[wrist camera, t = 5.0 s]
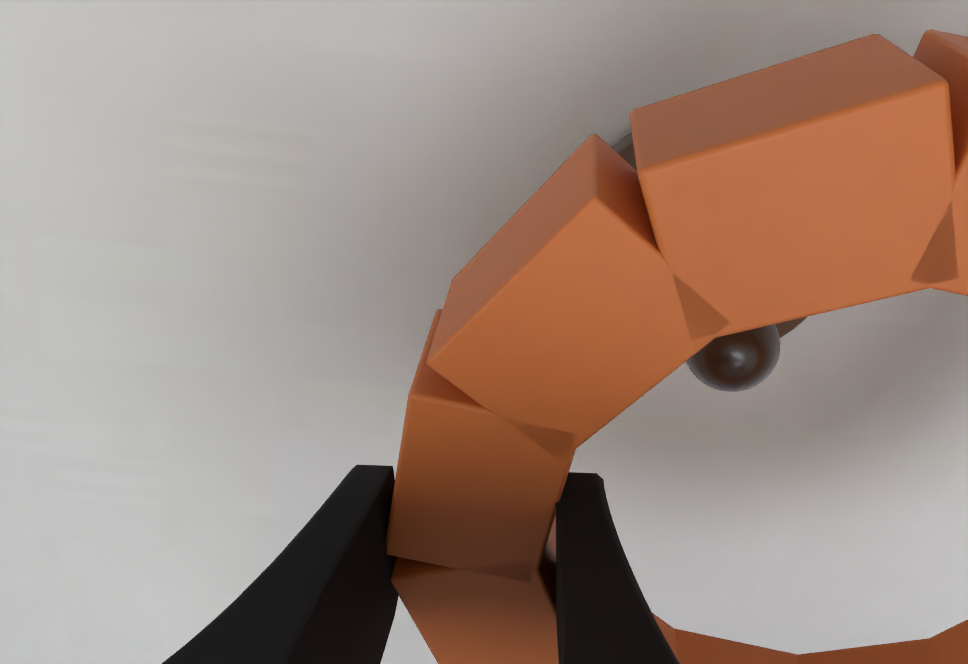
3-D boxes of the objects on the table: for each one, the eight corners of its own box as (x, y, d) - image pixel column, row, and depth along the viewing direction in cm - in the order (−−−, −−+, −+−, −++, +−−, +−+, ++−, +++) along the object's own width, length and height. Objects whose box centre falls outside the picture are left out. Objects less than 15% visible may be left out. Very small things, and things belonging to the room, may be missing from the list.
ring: (555, 750, 19) (550, 862, 17) (282, 218, 12) (222, 293, 10) (1273, 678, 15) (1381, 808, 13) (1415, -140, 9) (1669, -134, 7)
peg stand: (608, 369, 22) (613, 525, 17) (536, 154, 19) (517, 265, 14) (854, 313, 20) (940, 468, 15) (817, 67, 17) (908, 160, 12)
